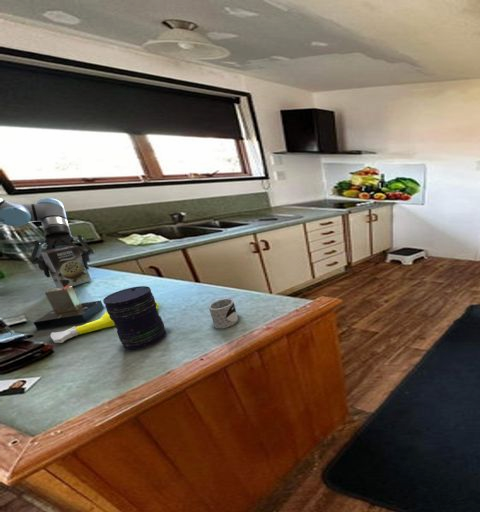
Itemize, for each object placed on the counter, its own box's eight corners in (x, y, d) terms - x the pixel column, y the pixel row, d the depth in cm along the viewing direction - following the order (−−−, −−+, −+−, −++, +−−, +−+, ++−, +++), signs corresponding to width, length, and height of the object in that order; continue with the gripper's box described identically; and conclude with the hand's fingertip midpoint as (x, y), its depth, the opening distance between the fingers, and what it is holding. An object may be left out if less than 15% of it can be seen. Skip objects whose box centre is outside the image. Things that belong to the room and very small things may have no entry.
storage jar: (157, 346, 75) (139, 299, 70) (115, 354, 73) (92, 306, 68) (172, 326, 84) (157, 283, 79) (135, 333, 82) (116, 289, 77)
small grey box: (55, 313, 89) (43, 291, 86) (61, 310, 91) (49, 288, 88) (77, 310, 90) (66, 288, 87) (82, 307, 92) (71, 285, 89)
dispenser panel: (37, 330, 85) (32, 321, 84) (61, 314, 94) (57, 306, 93) (85, 322, 89) (81, 314, 88) (104, 307, 98) (100, 299, 97)
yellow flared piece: (161, 309, 95) (58, 350, 76) (150, 301, 101) (51, 337, 82) (158, 302, 94) (52, 341, 75) (147, 294, 100) (46, 329, 81)
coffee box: (64, 289, 113) (47, 252, 107) (56, 287, 115) (38, 251, 109) (92, 280, 121) (78, 246, 115) (84, 278, 123) (69, 245, 118)
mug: (233, 326, 83) (228, 308, 81) (210, 329, 82) (204, 310, 80) (244, 310, 92) (239, 292, 90) (223, 312, 92) (218, 294, 89)
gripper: (96, 229, 129) (108, 268, 124) (19, 240, 115) (29, 284, 109) (91, 220, 124) (103, 260, 118) (10, 229, 109) (19, 275, 104)
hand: (67, 271), depth 114 cm, fingers closed on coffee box, 10 cm apart
